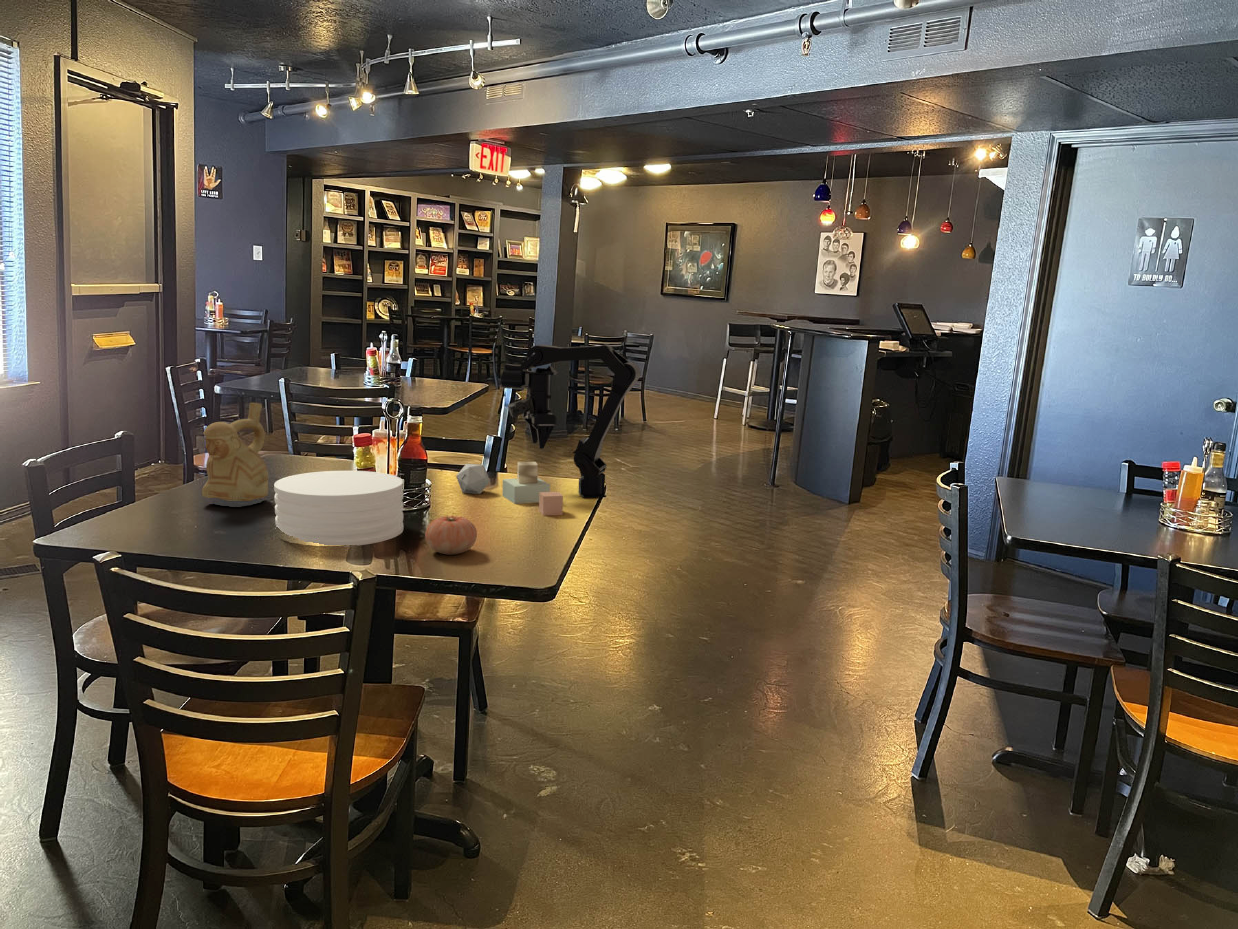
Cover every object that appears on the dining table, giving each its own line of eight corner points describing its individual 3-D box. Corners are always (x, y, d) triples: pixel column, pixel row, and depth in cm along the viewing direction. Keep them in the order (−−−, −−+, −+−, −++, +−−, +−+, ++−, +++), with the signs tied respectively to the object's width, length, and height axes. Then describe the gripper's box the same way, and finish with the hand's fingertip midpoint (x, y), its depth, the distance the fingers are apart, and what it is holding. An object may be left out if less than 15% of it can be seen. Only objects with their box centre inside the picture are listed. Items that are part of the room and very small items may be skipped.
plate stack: (428, 529, 214) (428, 481, 212) (330, 555, 191) (329, 501, 189) (349, 511, 229) (348, 466, 227) (249, 532, 206) (247, 482, 204)
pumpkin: (421, 547, 199) (421, 511, 197) (470, 544, 203) (471, 509, 201) (430, 561, 189) (429, 523, 187) (481, 557, 193) (482, 520, 191)
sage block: (536, 494, 256) (537, 477, 255) (549, 502, 247) (550, 484, 246) (502, 497, 252) (502, 479, 251) (514, 505, 243) (514, 486, 242)
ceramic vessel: (183, 507, 226) (178, 406, 222) (239, 492, 244) (235, 399, 240) (240, 514, 221) (236, 411, 216) (293, 499, 239) (290, 403, 235)
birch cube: (535, 479, 252) (535, 461, 251) (537, 483, 247) (537, 465, 246) (517, 479, 251) (517, 461, 250) (518, 483, 246) (519, 465, 245)
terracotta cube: (557, 510, 237) (558, 491, 236) (562, 515, 233) (562, 495, 232) (539, 511, 236) (539, 492, 235) (543, 515, 231) (543, 496, 230)
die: (455, 491, 258) (448, 468, 251) (479, 474, 262) (472, 451, 255) (473, 506, 254) (466, 483, 247) (497, 488, 257) (490, 465, 250)
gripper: (504, 386, 260) (503, 440, 263) (516, 393, 243) (515, 451, 246) (542, 386, 264) (541, 440, 267) (557, 394, 246) (556, 451, 249)
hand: (537, 445), depth 257 cm, fingers open, 9 cm apart
